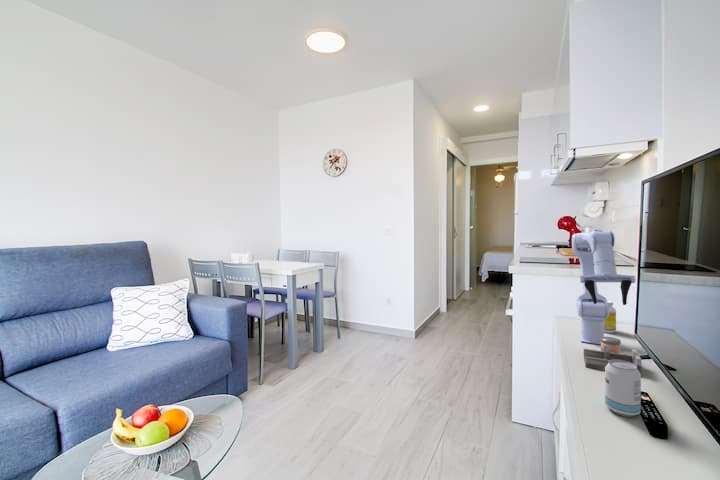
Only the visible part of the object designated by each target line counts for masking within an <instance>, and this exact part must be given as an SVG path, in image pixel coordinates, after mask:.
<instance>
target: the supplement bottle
mask: <svg viewBox="0 0 720 480" xmlns="http://www.w3.org/2000/svg"><path fill="white" fill-rule="evenodd" d="M606 300H607V299H606ZM607 304H608V306H609V317H608V318H607V319H606V318H605V321H604V333H608V334H614V333H616V331H617V309H616V308H615V307H613V306H614V301H612V300H607Z"/></svg>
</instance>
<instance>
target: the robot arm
mask: <svg viewBox="0 0 720 480" xmlns="http://www.w3.org/2000/svg"><path fill="white" fill-rule="evenodd" d="M615 239H616V238H615V234H614V232H613V231H612V230H611V231H603V230H602V229H595V228H594V229H593V230H591V231H590V232H578V233H573V234H572V236H571V247H572V248H571V250H572V253H573V256H575V257H577V258H578V260H579V264H580V274H581V275H580V276H579V279H580V283H581V284H582V290H583V293H582V294H580V295H579V296H578V297H577V299H576V313H577V316H578V317H580V318H581V322H580V323H581V324H580V325H581V326H580V327H581V328H580V329H581V333H579V339H580V342H581V343H586V344H597V345H601V340H600V338H601V337H605V332H604V321H605V318H606V319H607V318H608V317H609V306H608V304H607V299H606V297H604V295H602V294H600V293H599V292H598V286H597V283H620V291H621V295H622V296H621V297H622V299H621V300H622V306H625V305H627V304H628V302H627V301H628V294H629V291H630V287H631V285H632V284H635V283H636V276H635V275H629V274H628V275H627V274H617V266H616V260H615V254H614V253H615V252H614V246H615Z"/></svg>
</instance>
